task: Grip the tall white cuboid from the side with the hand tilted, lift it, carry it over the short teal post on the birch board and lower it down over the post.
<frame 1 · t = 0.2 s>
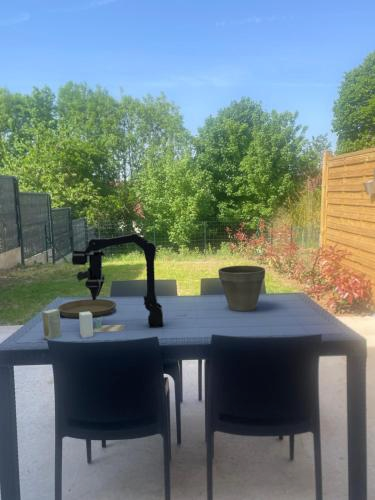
hand: (95, 298, 201), 14 cm above the table, tool pointing down, fingers open, 9 cm apart
plant pot: (242, 308, 232), on the table
board: (108, 329, 199), on the table
plant saucer: (87, 313, 233), on the table
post: (98, 327, 201), resting on board
tall white cuboid: (86, 336, 189), on the table
skincare box: (52, 338, 189), on the table
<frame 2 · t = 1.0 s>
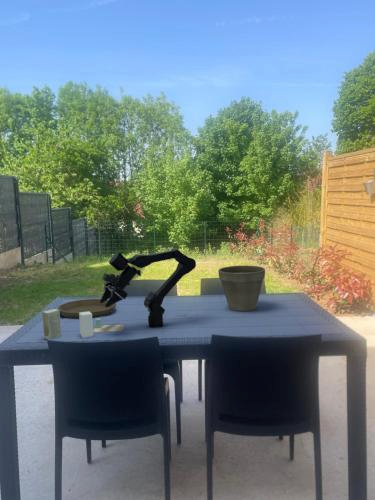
hand: (103, 304, 191), 13 cm above the table, tool tilted 45°, fingers open, 9 cm apart
nothing on the table moved.
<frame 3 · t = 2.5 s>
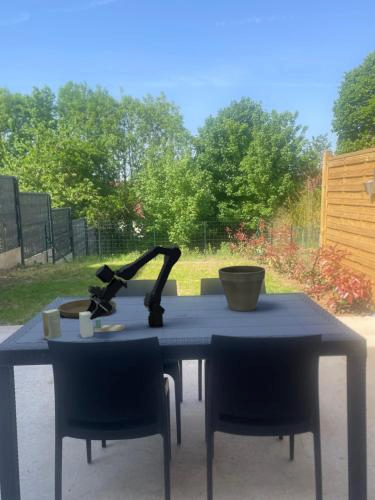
hand: (88, 317, 189), 9 cm above the table, tool tilted 45°, fingers open, 9 cm apart
nothing on the table moved.
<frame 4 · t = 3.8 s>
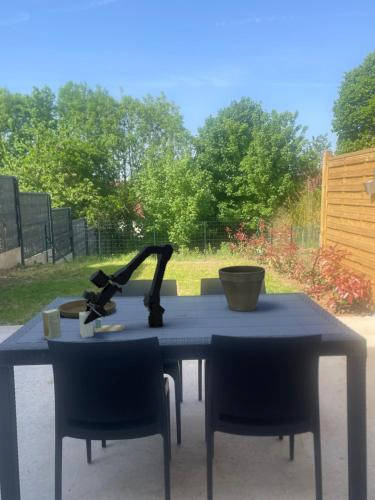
hand: (82, 322, 188), 7 cm above the table, tool tilted 45°, fingers closed on tall white cuboid, 5 cm apart
tall white cuboid: (86, 336, 189), on the table, touching gripper
everything else where it was.
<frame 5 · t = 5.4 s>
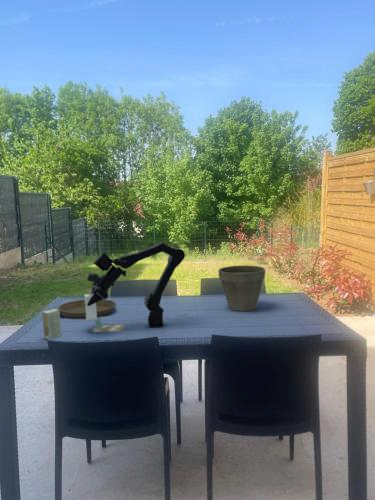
hand: (87, 303, 194), 13 cm above the table, tool tilted 45°, fingers closed on tall white cuboid, 5 cm apart
tall white cuboid: (91, 317, 195), point 7 cm above the table, touching gripper
everything else where it was.
when the fingers open (9 cm above the table, at t = 7.2 s): tall white cuboid drops 2 cm, resting on board.
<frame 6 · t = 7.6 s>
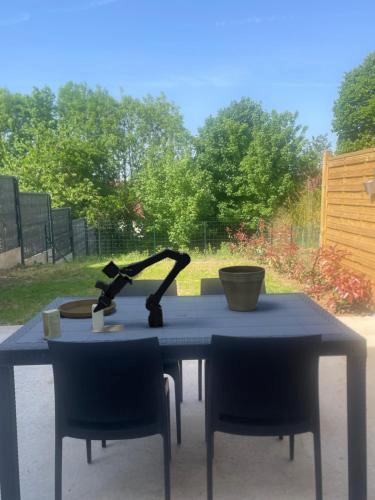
hand: (94, 309, 200), 9 cm above the table, tool tilted 45°, fingers open, 9 cm apart
tall white cuboid: (98, 327, 201), point 1 cm above the table, touching board
everything else where it was.
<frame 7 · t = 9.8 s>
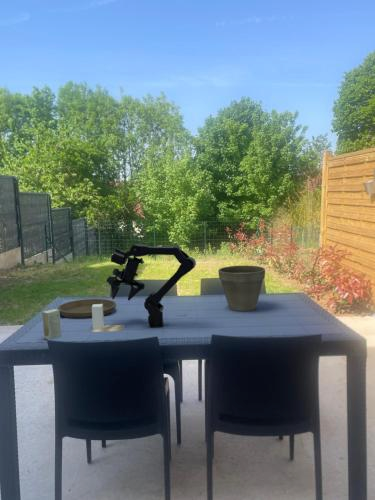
hand: (120, 299, 205), 12 cm above the table, tool tilted 20°, fingers open, 9 cm apart
nothing on the table moved.
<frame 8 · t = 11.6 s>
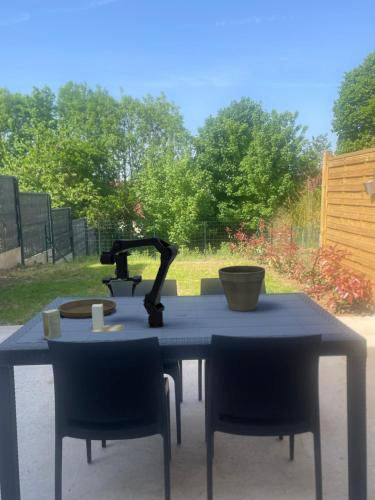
hand: (123, 297, 208), 13 cm above the table, tool pointing down, fingers open, 9 cm apart
nothing on the table moved.
at the end: tall white cuboid 0.1 cm from the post (horizontally); tall white cuboid point 0.6 cm above the table; tall white cuboid tilted 0° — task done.
